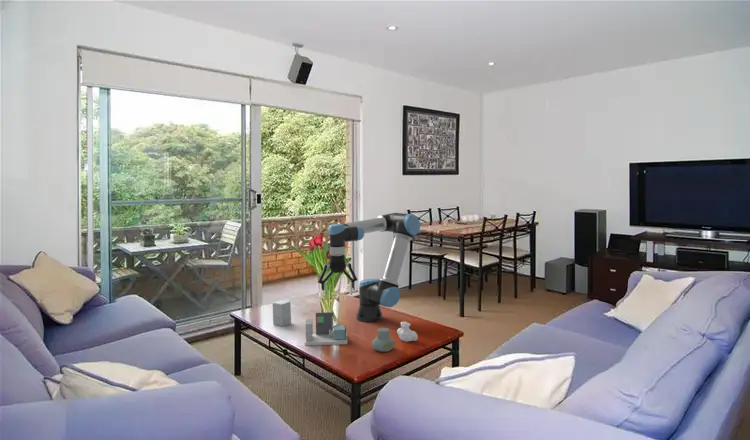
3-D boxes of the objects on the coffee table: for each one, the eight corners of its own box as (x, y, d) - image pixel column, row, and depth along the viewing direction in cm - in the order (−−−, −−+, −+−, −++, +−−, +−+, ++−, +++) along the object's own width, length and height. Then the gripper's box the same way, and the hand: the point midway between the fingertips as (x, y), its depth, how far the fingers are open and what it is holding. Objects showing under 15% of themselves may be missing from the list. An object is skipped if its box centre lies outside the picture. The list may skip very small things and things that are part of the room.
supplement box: (291, 323, 261) (291, 301, 259) (282, 326, 254) (281, 304, 253) (281, 320, 265) (281, 299, 263) (272, 324, 258) (272, 302, 257)
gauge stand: (346, 335, 240) (346, 311, 238) (347, 344, 228) (347, 318, 227) (306, 337, 238) (305, 312, 237) (304, 345, 226) (304, 319, 225)
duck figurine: (396, 342, 236) (388, 328, 230) (403, 330, 241) (395, 317, 234) (416, 347, 229) (408, 334, 223) (422, 335, 233) (415, 321, 227)
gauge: (346, 333, 238) (345, 315, 237) (346, 339, 230) (346, 320, 229) (329, 334, 237) (329, 316, 236) (329, 339, 229) (328, 321, 228)
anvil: (312, 335, 235) (312, 318, 234) (312, 341, 227) (311, 323, 226) (306, 336, 235) (306, 319, 234) (305, 341, 227) (305, 324, 226)
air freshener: (386, 344, 227) (386, 325, 226) (397, 349, 220) (397, 329, 219) (369, 349, 220) (369, 329, 219) (379, 355, 214) (379, 334, 213)
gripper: (359, 252, 240) (359, 291, 242) (311, 254, 233) (312, 295, 235) (362, 254, 233) (363, 295, 235) (314, 257, 226) (314, 299, 228)
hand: (337, 295), depth 235 cm, fingers open, 13 cm apart
